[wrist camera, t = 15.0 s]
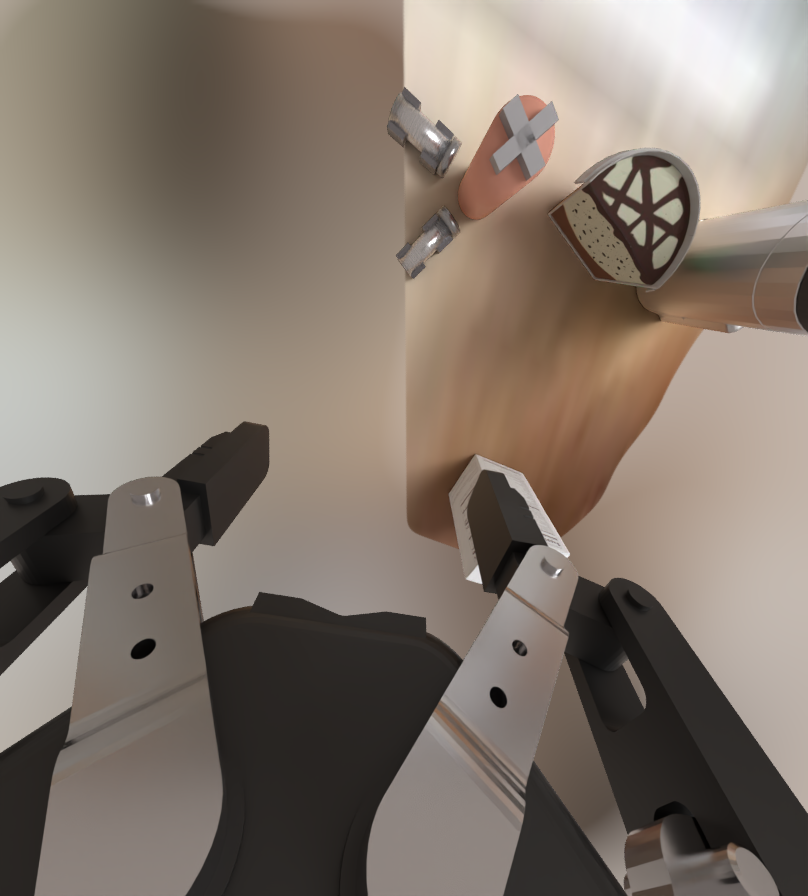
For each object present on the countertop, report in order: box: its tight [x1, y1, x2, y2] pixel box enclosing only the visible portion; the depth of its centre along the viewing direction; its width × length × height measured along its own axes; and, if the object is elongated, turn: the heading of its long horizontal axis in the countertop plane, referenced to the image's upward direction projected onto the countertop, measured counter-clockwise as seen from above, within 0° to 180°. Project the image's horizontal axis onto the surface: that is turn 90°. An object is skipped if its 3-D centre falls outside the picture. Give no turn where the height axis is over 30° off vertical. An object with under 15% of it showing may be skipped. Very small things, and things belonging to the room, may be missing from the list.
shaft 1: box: [387, 87, 462, 178], centre depth 29 cm, size 7×3×3 cm, turn 56°
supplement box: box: [449, 454, 570, 584], centre depth 43 cm, size 10×9×17 cm
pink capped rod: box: [458, 94, 559, 219], centre depth 26 cm, size 4×4×15 cm
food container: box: [548, 148, 700, 292], centre depth 29 cm, size 12×6×10 cm, turn 48°
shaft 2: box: [396, 206, 460, 279], centre depth 33 cm, size 7×3×3 cm, turn 131°
